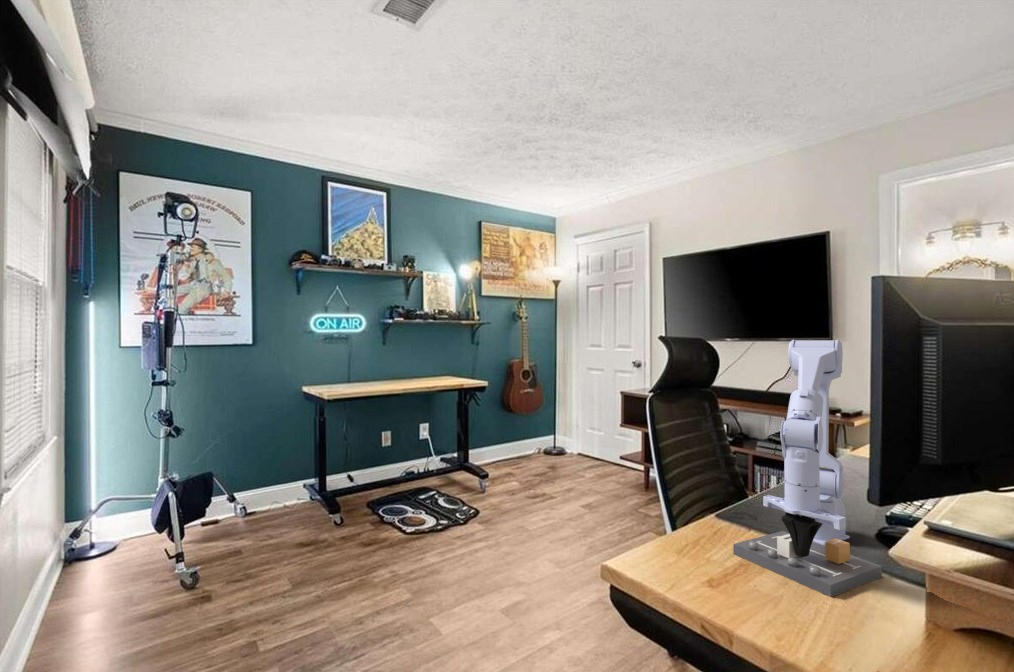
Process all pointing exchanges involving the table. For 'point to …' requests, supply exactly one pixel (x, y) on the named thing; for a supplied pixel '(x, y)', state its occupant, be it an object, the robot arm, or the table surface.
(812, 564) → the mixer board
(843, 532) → the robot arm
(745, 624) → the table surface
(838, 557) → the fader
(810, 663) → the table surface
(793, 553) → the fader
